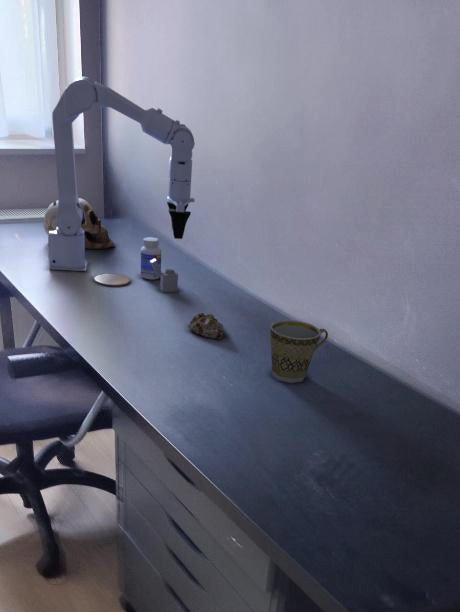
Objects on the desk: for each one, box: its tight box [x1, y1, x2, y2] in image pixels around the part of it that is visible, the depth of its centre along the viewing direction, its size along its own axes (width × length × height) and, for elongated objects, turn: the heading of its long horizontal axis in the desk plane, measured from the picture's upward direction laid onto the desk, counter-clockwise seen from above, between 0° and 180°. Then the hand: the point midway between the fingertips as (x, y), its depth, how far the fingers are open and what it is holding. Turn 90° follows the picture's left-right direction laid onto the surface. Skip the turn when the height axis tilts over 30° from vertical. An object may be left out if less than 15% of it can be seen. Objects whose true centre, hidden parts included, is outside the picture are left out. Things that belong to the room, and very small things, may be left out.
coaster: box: [94, 273, 131, 287], centre depth 184 cm, size 9×9×1 cm
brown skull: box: [43, 197, 115, 250], centre depth 206 cm, size 16×17×13 cm
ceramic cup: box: [269, 319, 329, 384], centre depth 143 cm, size 13×10×10 cm
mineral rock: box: [188, 312, 226, 341], centre depth 160 cm, size 11×4×8 cm
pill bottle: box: [140, 236, 162, 281], centre depth 187 cm, size 5×5×10 cm
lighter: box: [150, 258, 179, 293], centre depth 179 cm, size 7×2×8 cm, turn 114°
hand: (177, 234), depth 189 cm, fingers open, 7 cm apart
